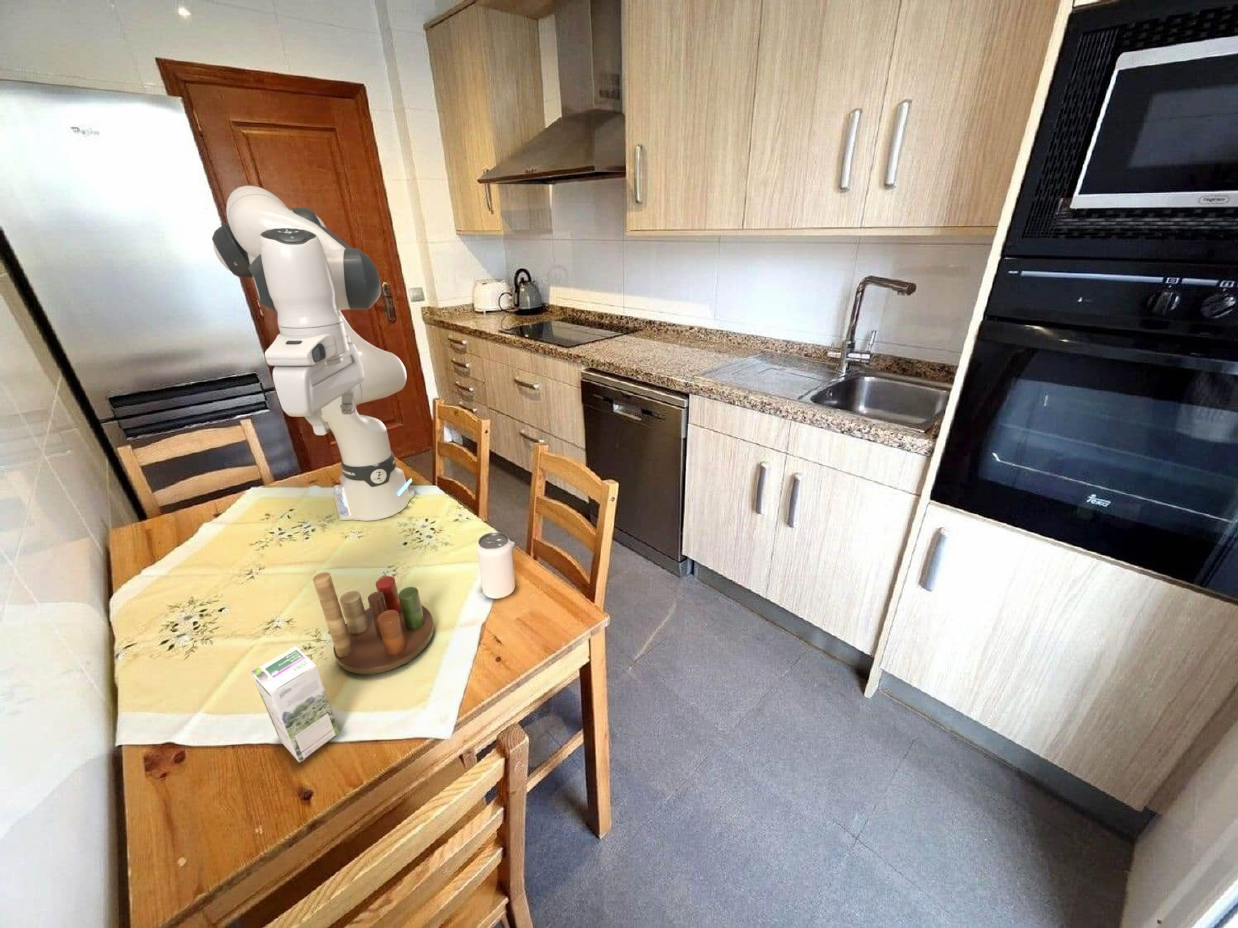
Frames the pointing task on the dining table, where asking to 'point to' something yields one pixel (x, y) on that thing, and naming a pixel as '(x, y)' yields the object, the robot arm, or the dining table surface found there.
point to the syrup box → (296, 702)
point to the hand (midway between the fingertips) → (336, 423)
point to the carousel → (375, 625)
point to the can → (496, 565)
